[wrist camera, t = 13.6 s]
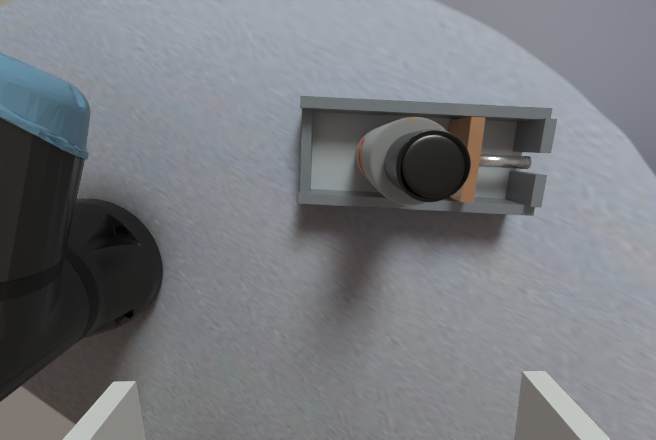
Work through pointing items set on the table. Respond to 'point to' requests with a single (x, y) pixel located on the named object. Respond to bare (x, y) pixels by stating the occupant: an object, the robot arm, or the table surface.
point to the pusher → (479, 155)
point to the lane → (499, 131)
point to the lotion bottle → (413, 161)
